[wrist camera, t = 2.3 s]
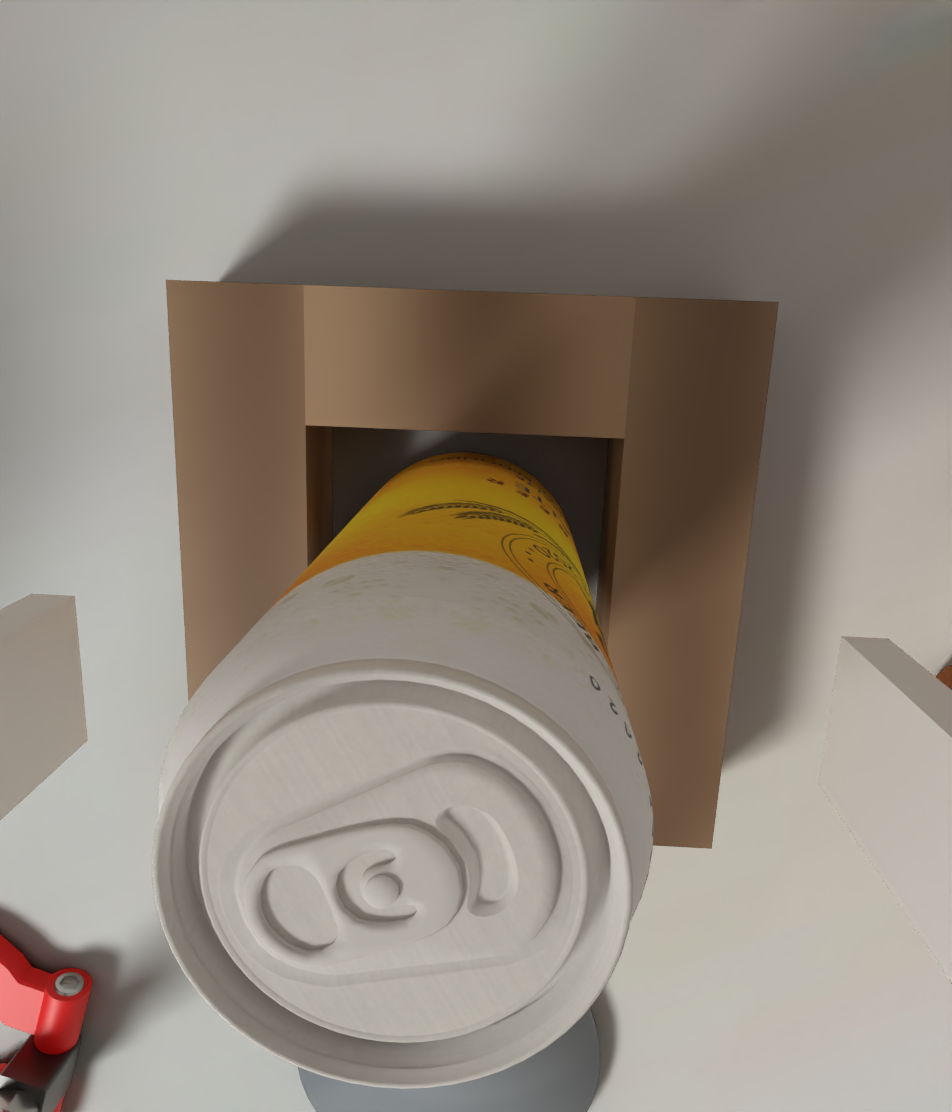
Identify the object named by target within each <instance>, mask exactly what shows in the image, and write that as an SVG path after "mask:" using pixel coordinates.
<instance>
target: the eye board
mask: <svg viewBox="0 0 952 1112" xmlns="http://www.w3.org/2000/svg"><path fill="white" fill-rule="evenodd" d="M166 289H167V307H168V326H169V345H170V363H171V382H172V401H173V419H174V438H175V457H176V475H177V494H178V513H179V531H180V550H181V569H182V587H183V606H184V625H185V643H186V662H187V681H188V699H189V701H190V699H191V697H192V696H193V695H194V693H195V692H196V691H197V689H198V688H199V687H200V686H201V684H202V683H203V682H204V680H205V679H206V678H207V676H208V675H209V674H210V673H211V672H212V671H213V670H214V669H215V668H216V667H217V666H218V664H219V663H220V662H221V661H222V660H223V659H224V658H225V657H226V656H227V655H228V654H229V653H230V651H231V650H232V649H233V648H234V647H235V646H236V645H237V644H238V643H239V642H240V641H241V639H242V638H243V637H244V636H245V635H246V634H247V633H248V632H249V631H250V630H251V629H252V628H253V626H254V625H255V624H256V623H257V622H258V621H259V620H260V619H261V618H262V617H263V616H264V614H265V613H266V612H267V611H268V610H269V609H270V608H271V607H272V606H273V605H274V604H275V603H276V601H277V600H278V599H279V598H280V597H281V596H282V595H283V594H284V593H285V592H286V591H287V589H288V588H289V587H290V586H291V585H292V584H293V583H294V582H295V581H296V580H297V579H298V578H299V576H300V575H301V574H302V573H303V572H304V571H305V570H306V569H307V568H308V567H309V566H310V564H311V563H312V562H313V561H314V560H315V559H316V558H317V557H318V556H319V555H320V554H321V553H322V551H323V550H324V549H325V548H326V547H327V546H328V545H329V544H330V543H331V542H332V541H333V497H332V426H335V427H359V428H383V429H407V430H431V431H455V432H478V433H502V434H526V435H550V436H574V437H598V438H609V446H608V459H607V472H606V485H605V498H604V511H603V524H602V537H601V550H600V563H599V576H598V589H597V602H596V614H597V617H598V621H599V624H600V627H601V630H602V633H603V637H604V640H605V643H606V646H607V650H608V653H609V656H610V659H611V662H612V666H613V669H614V672H615V675H616V678H617V682H618V685H619V688H620V691H621V695H622V698H623V701H624V704H625V707H626V711H627V714H628V717H629V720H630V724H631V727H632V730H633V733H634V736H635V740H636V743H637V746H638V749H639V752H640V756H641V759H642V762H643V765H644V769H645V773H646V777H647V781H648V785H649V789H650V794H651V801H652V811H653V821H654V825H653V845H658V846H676V847H693V848H710V849H712V841H713V833H714V825H715V817H716V809H717V800H718V792H719V784H720V776H721V768H722V760H723V751H724V743H725V735H726V727H727V719H728V711H729V702H730V694H731V686H732V678H733V670H734V662H735V654H736V645H737V637H738V629H739V621H740V613H741V605H742V596H743V588H744V580H745V572H746V564H747V556H748V548H749V539H750V531H751V523H752V515H753V507H754V499H755V490H756V482H757V474H758V466H759V458H760V450H761V441H762V433H763V425H764V417H765V409H766V401H767V393H768V384H769V376H770V368H771V360H772V352H773V344H774V335H775V327H776V319H777V311H778V303H779V302H761V301H734V300H706V299H679V298H651V297H623V296H596V295H568V294H540V293H513V292H485V291H457V290H430V289H402V288H374V287H347V286H319V285H291V284H264V283H236V282H208V281H181V280H166Z"/></svg>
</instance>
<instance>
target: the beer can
mask: <svg viewBox="0 0 952 1112" xmlns="http://www.w3.org/2000/svg"><path fill="white" fill-rule="evenodd" d="M653 825H654V821H653V811H652V801H651V794H650V789H649V785H648V781H647V777H646V773H645V769H644V765H643V762H642V759H641V756H640V752H639V749H638V746H637V743H636V740H635V736H634V733H633V730H632V727H631V724H630V720H629V717H628V714H627V711H626V707H625V704H624V701H623V698H622V695H621V691H620V688H619V685H618V682H617V678H616V675H615V672H614V669H613V666H612V662H611V659H610V656H609V653H608V650H607V646H606V643H605V640H604V637H603V633H602V630H601V627H600V624H599V621H598V617H597V614H596V611H595V608H594V604H593V601H592V598H591V595H590V592H589V588H588V585H587V582H586V579H585V575H584V572H583V569H582V566H581V563H580V559H579V556H578V553H577V550H576V547H575V543H574V540H573V537H572V534H571V530H570V528H569V525H568V522H567V520H566V517H565V515H564V513H563V512H562V510H561V508H560V506H559V505H558V503H557V502H556V500H555V499H554V497H553V496H552V495H551V493H550V492H549V491H548V490H547V489H546V488H545V487H544V486H543V485H542V484H541V483H540V482H539V481H538V480H537V479H536V478H535V477H533V476H532V475H530V474H529V473H528V472H526V471H525V470H523V469H522V468H520V467H518V466H516V465H514V464H512V463H510V462H508V461H505V460H503V459H500V458H497V457H493V456H490V455H485V454H479V453H469V452H457V453H446V454H441V455H436V456H432V457H429V458H426V459H423V460H420V461H418V462H416V463H414V464H412V465H410V466H408V467H406V468H405V469H403V470H402V471H400V472H398V473H397V474H396V475H395V476H393V477H392V478H391V479H390V480H388V481H387V482H386V483H385V484H384V485H383V486H382V487H381V488H380V490H379V491H378V492H377V493H376V494H375V495H374V496H373V497H372V498H371V499H370V500H369V501H368V503H367V504H366V505H365V506H364V507H363V508H362V509H361V510H360V511H359V512H358V513H357V515H356V516H355V517H354V518H353V519H352V520H351V521H350V522H349V523H348V524H347V525H346V526H345V528H344V529H343V530H342V531H341V532H340V533H339V534H338V535H337V536H336V537H335V538H334V539H333V541H332V542H331V543H330V544H329V545H328V546H327V547H326V548H325V549H324V550H323V551H322V553H321V554H320V555H319V556H318V557H317V558H316V559H315V560H314V561H313V562H312V563H311V564H310V566H309V567H308V568H307V569H306V570H305V571H304V572H303V573H302V574H301V575H300V576H299V578H298V579H297V580H296V581H295V582H294V583H293V584H292V585H291V586H290V587H289V588H288V589H287V591H286V592H285V593H284V594H283V595H282V596H281V597H280V598H279V599H278V600H277V601H276V603H275V604H274V605H273V606H272V607H271V608H270V609H269V610H268V611H267V612H266V613H265V614H264V616H263V617H262V618H261V619H260V620H259V621H258V622H257V623H256V624H255V625H254V626H253V628H252V629H251V630H250V631H249V632H248V633H247V634H246V635H245V636H244V637H243V638H242V639H241V641H240V642H239V643H238V644H237V645H236V646H235V647H234V648H233V649H232V650H231V651H230V653H229V654H228V655H227V656H226V657H225V658H224V659H223V660H222V661H221V662H220V663H219V664H218V666H217V667H216V668H215V669H214V670H213V671H212V672H211V673H210V674H209V675H208V676H207V678H206V679H205V680H204V682H203V683H202V684H201V686H200V687H199V688H198V689H197V691H196V692H195V693H194V695H193V696H192V697H191V699H190V701H189V702H188V704H187V706H186V707H185V709H184V711H183V713H182V714H181V716H180V718H179V720H178V722H177V724H176V726H175V729H174V731H173V734H172V736H171V739H170V741H169V743H168V746H167V750H166V754H165V758H164V762H163V765H162V769H161V776H160V784H159V792H158V822H157V826H156V830H155V836H154V844H153V852H152V882H153V889H154V896H155V903H156V907H157V911H158V915H159V918H160V922H161V926H162V929H163V931H164V934H165V936H166V939H167V941H168V943H169V946H170V948H171V951H172V952H173V954H174V956H175V958H176V960H177V961H178V963H179V965H180V967H181V969H182V970H183V972H184V974H185V975H186V976H187V978H188V979H189V981H190V982H191V983H192V985H193V986H194V988H195V989H196V990H197V992H198V993H199V994H200V995H201V996H202V997H203V999H204V1000H205V1001H206V1002H207V1003H208V1004H209V1005H210V1006H211V1008H212V1009H213V1010H214V1011H215V1012H216V1013H217V1014H218V1015H220V1016H221V1017H222V1018H223V1019H224V1020H225V1021H226V1022H227V1023H228V1024H229V1025H231V1026H232V1027H233V1028H234V1029H235V1030H237V1031H238V1032H239V1033H241V1034H242V1035H243V1036H245V1037H246V1038H248V1039H249V1040H250V1041H252V1042H253V1043H254V1044H256V1045H258V1046H259V1047H261V1048H263V1049H264V1050H266V1051H268V1052H270V1053H271V1054H273V1055H275V1056H276V1057H278V1058H281V1059H283V1060H285V1061H287V1062H289V1063H291V1064H293V1065H295V1066H297V1067H300V1068H302V1069H305V1070H308V1071H311V1072H314V1073H316V1074H319V1075H322V1076H325V1077H329V1078H333V1079H336V1080H340V1081H344V1082H348V1083H354V1084H360V1085H366V1086H372V1087H384V1088H399V1089H405V1088H430V1087H438V1086H445V1085H453V1084H457V1083H462V1082H466V1081H471V1080H475V1079H479V1078H482V1077H485V1076H488V1075H491V1074H494V1073H496V1072H499V1071H502V1070H504V1069H507V1068H509V1067H511V1066H513V1065H515V1064H517V1063H520V1062H522V1061H524V1060H526V1059H527V1058H529V1057H531V1056H533V1055H534V1054H536V1053H538V1052H539V1051H541V1050H543V1049H544V1048H546V1047H547V1046H549V1045H550V1044H551V1043H552V1042H554V1041H555V1040H556V1039H558V1038H559V1037H560V1036H562V1035H563V1034H564V1033H566V1032H567V1031H568V1030H569V1029H570V1028H571V1027H572V1026H573V1025H574V1024H575V1023H576V1022H577V1021H578V1020H579V1019H580V1018H581V1017H582V1016H583V1015H584V1014H585V1013H586V1011H587V1010H588V1009H589V1008H590V1006H591V1005H592V1004H593V1003H594V1002H595V1000H596V999H597V998H598V997H599V995H600V993H601V992H602V990H603V988H604V987H605V985H606V984H607V982H608V980H609V979H610V977H611V975H612V973H613V971H614V969H615V967H616V964H617V962H618V960H619V958H620V956H621V953H622V950H623V946H624V943H625V940H626V936H627V933H628V929H629V923H630V921H631V919H632V917H633V914H634V912H635V910H636V908H637V906H638V903H639V901H640V899H641V896H642V893H643V890H644V887H645V883H646V880H647V877H648V873H649V868H650V862H651V856H652V849H653Z"/></svg>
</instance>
